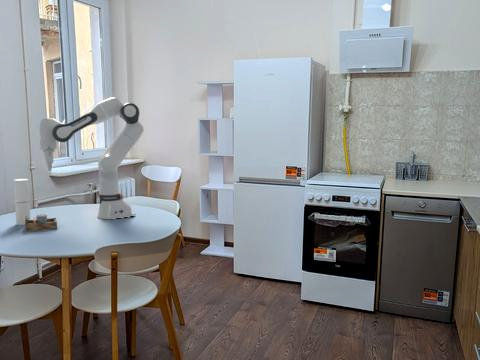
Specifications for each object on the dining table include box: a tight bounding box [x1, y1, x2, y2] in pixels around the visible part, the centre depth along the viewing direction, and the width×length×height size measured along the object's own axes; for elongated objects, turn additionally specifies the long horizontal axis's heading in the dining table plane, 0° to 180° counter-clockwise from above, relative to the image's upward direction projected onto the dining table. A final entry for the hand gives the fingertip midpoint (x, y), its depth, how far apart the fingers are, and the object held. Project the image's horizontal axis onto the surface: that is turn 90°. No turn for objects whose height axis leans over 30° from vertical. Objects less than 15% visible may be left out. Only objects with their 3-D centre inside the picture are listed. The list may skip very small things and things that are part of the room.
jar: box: [35, 213, 48, 223], centre depth 220 cm, size 5×5×6 cm
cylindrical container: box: [13, 178, 31, 226], centre depth 228 cm, size 7×7×25 cm
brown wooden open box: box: [24, 216, 58, 233], centre depth 220 cm, size 15×10×7 cm, turn 117°
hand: (49, 169), depth 239 cm, fingers open, 8 cm apart
